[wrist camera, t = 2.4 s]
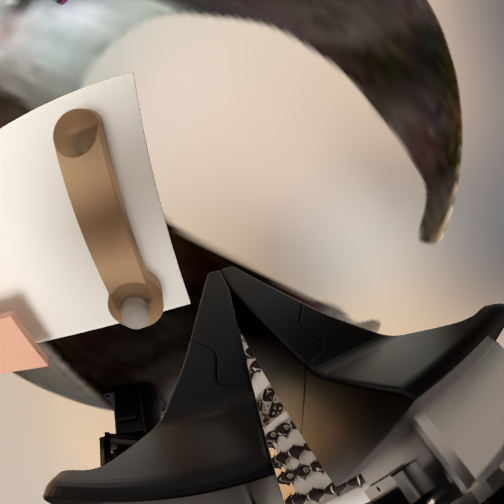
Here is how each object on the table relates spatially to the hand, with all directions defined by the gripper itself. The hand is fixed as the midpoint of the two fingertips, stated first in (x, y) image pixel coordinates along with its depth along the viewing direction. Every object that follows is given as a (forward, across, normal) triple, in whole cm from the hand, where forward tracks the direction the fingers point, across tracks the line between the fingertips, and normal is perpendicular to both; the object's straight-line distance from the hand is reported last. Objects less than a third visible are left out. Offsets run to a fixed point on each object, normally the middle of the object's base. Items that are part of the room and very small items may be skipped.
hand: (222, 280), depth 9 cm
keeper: (+12, +21, +7) cm, 25 cm away
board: (+12, +13, 0) cm, 18 cm away
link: (+11, +6, +1) cm, 13 cm away
